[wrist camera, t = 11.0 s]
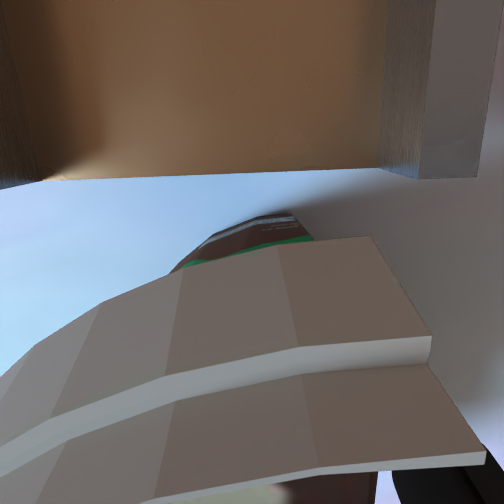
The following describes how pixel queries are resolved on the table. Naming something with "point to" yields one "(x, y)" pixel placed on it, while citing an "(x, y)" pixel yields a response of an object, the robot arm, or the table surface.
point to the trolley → (243, 87)
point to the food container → (234, 383)
